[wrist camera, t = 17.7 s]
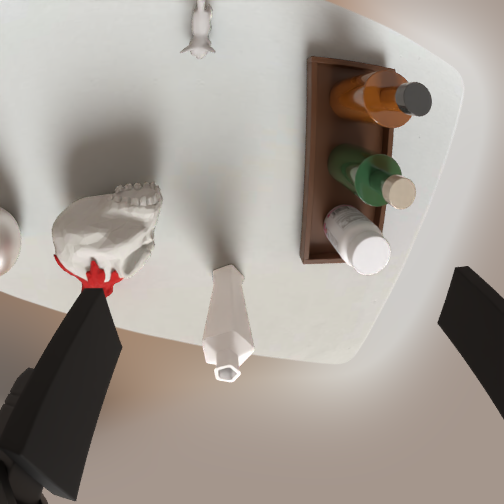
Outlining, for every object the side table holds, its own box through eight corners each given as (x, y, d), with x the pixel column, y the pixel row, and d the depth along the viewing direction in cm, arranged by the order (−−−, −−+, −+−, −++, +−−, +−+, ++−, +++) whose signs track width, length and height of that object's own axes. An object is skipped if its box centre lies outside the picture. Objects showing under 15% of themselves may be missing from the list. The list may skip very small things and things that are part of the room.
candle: (173, 176, 31) (151, 285, 38) (78, 154, 28) (73, 263, 36) (151, 214, 23) (134, 338, 31) (33, 184, 21) (44, 308, 28)
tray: (306, 59, 27) (311, 55, 25) (386, 70, 27) (395, 69, 25) (299, 256, 36) (303, 264, 34) (370, 254, 37) (377, 261, 35)
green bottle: (328, 141, 30) (379, 160, 19) (367, 144, 30) (431, 166, 19) (325, 183, 32) (372, 223, 21) (364, 185, 32) (422, 223, 21)
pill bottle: (353, 246, 36) (382, 283, 28) (317, 237, 35) (339, 274, 27) (367, 209, 34) (402, 239, 26) (330, 198, 33) (359, 226, 25)
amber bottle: (328, 75, 27) (388, 58, 15) (371, 81, 27) (445, 74, 16) (328, 119, 29) (386, 128, 17) (370, 123, 29) (442, 138, 18)
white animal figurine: (189, 45, 27) (180, 69, 25) (188, -19, 20) (177, -5, 18) (219, 45, 27) (215, 69, 25) (222, -20, 20) (217, -6, 18)
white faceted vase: (217, 300, 38) (213, 396, 25) (202, 271, 36) (189, 364, 23) (252, 288, 38) (263, 384, 24) (239, 258, 36) (245, 350, 22)
